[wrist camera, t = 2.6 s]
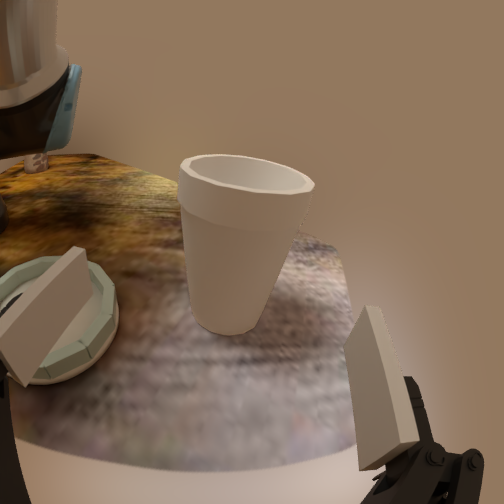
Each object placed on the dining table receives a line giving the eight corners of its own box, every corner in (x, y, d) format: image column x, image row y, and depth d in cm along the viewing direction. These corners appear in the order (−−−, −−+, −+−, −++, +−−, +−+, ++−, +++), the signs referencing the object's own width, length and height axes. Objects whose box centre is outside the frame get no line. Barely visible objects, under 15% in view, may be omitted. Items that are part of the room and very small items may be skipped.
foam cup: (232, 269, 31) (251, 153, 25) (295, 318, 26) (338, 187, 20) (156, 299, 25) (156, 159, 19) (217, 367, 20) (242, 203, 13)
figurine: (54, 166, 56) (53, 121, 50) (35, 174, 50) (33, 126, 44) (38, 165, 56) (37, 122, 50) (20, 173, 50) (18, 127, 44)
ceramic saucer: (10, 272, 23) (5, 256, 22) (122, 269, 28) (120, 252, 27) (-30, 375, 11) (-42, 359, 10) (120, 387, 16) (114, 371, 15)
